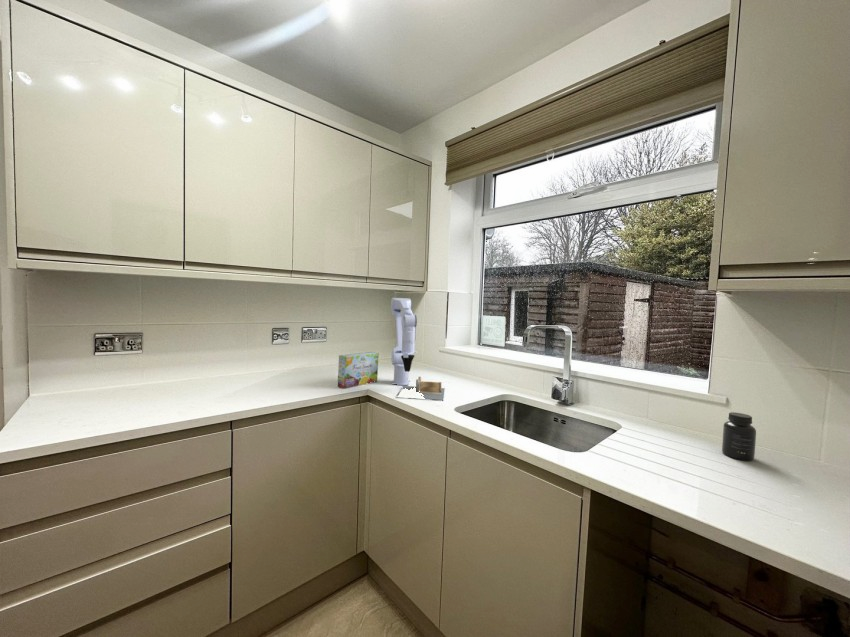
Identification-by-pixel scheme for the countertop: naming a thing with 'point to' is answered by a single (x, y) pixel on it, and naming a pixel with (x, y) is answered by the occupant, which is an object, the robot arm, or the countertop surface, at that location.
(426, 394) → the board
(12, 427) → the countertop surface
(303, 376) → the countertop surface
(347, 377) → the snack box
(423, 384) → the hinged fence section
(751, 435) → the supplement bottle
